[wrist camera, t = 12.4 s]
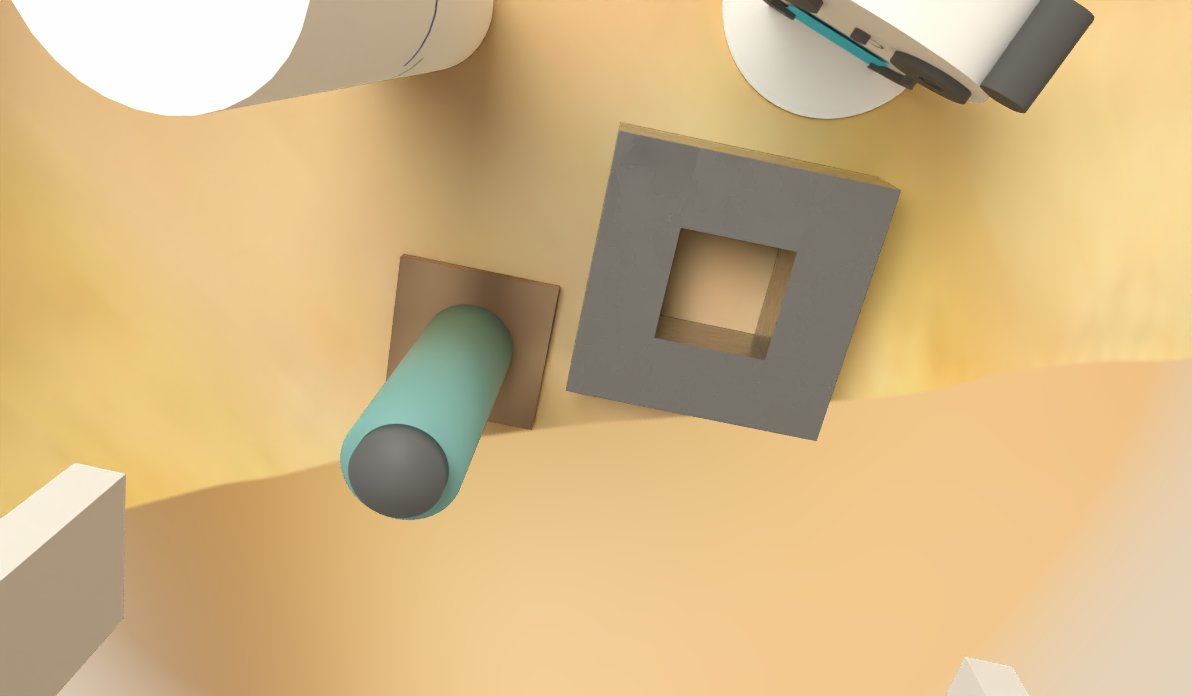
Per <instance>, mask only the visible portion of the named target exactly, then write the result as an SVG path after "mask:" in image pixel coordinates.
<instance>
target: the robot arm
mask: <svg viewBox="0 0 1192 696" xmlns="http://www.w3.org/2000/svg"><path fill="white" fill-rule="evenodd" d="M125 485H126V474H124V473H119V472H115V471H110V470H106V469H101V468H96V467H92V466H87V465H83V464H78V463H74V464H73V465H71V466H70V467H69V468H67V469H66V470H65V471H63V472H62V473H61V474H59V475H58V476H57V477H55V478H54V479H53V480H51V481H50V482H49V483H47V484H46V485H45V486H43V487H42V488H41V489H40V490H38V491H37V492H36V493H34V494H33V495H32V496H30V497H29V498H28V499H26V500H25V501H24V502H22V503H21V504H20V505H18V506H17V507H16V508H14V509H13V510H12V511H11V512H9V513H8V514H7V515H5V516H4V517H3V518H1V519H0V696H56V695H57V694H58V693H59V691H60V690H61V689H62V688H63V687H64V685H66V683H67V682H68V681H69V680H70V679H71V678H72V677H73V676H74V674H75V673H76V672H77V671H78V670H79V669H80V668H81V666H82V665H83V664H84V663H85V662H86V661H87V660H88V658H89V657H90V656H91V655H92V654H93V653H94V652H95V651H96V649H97V648H98V647H99V646H100V645H101V644H102V643H103V642H104V640H105V639H106V638H107V637H108V636H109V634H111V632H112V631H113V630H114V629H115V628H116V627H117V626H118V625H119V623H120V622H121V621H122V620H123V610H124V609H123V608H124V548H125V547H124V546H125ZM946 696H1029V694H1028V693H1027V691H1026V689H1025V688H1024V686H1023V685H1022V683H1021V681H1020V679H1019V678H1018V676H1017V674H1016V673H1015V671H1014V669H1013V667H1011V666H1007V665H1002V664H997V663H993V662H988V661H984V660H979V659H975V658H970V657H964V659H963V661H962V663H961V665H960V667H959V669H958V671H957V673H956V676H955V678H954V679H953V682H952V684H951V686H950V688H949V690H948V692H947V694H946Z"/></svg>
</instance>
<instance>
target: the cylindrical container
mask: <svg viewBox="0 0 1192 696" xmlns="http://www.w3.org/2000/svg"><path fill="white" fill-rule="evenodd" d="M12 2H13V3H14V5H15V6H16V8H17V10H18V11H19V13H20V14H21V16H22V18H23V19H24V21H25V22H26V24H27V26H28V27H29V29H30V30H31V32H32V33H33V35H34V36H35V37H36V38H37V39H38V40H39V42H40V43H41V44H42V45H43V46H44V47H45V49H46V50H47V51H48V52H49V53H50V54H51V56H52V57H53V58H54V59H55V60H56V61H57V62H58V63H60V64H61V65H62V66H63V67H64V68H65V69H67V70H68V71H69V72H70V73H71V74H72V75H74V76H75V77H76V78H77V79H78V80H79V81H81V82H83V83H84V84H86V85H87V86H89V87H91V88H92V89H94V90H95V91H97V92H99V93H100V94H102V95H103V96H105V97H107V98H110V99H112V100H114V101H117V102H119V103H122V104H124V105H126V106H129V107H131V108H133V109H138V110H142V111H147V112H151V113H156V114H161V115H200V114H206V113H211V112H217V111H222V110H228V109H233V108H239V107H244V106H249V105H255V104H260V103H266V102H271V101H277V100H282V99H288V98H293V97H298V96H304V95H309V94H315V93H320V92H326V91H331V90H337V89H342V88H347V87H353V86H358V85H364V84H369V83H375V82H380V81H386V80H391V79H396V78H402V77H407V76H412V75H418V74H423V73H429V72H434V71H439V70H443V69H448V68H451V67H453V66H455V65H457V64H459V63H461V62H463V61H464V60H465V59H466V58H468V57H469V56H470V55H472V54H473V52H474V51H475V50H476V49H477V48H478V47H479V45H480V44H481V42H482V41H483V39H484V37H485V36H486V34H487V31H488V29H489V26H490V23H491V20H492V13H493V7H494V0H12Z"/></svg>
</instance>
